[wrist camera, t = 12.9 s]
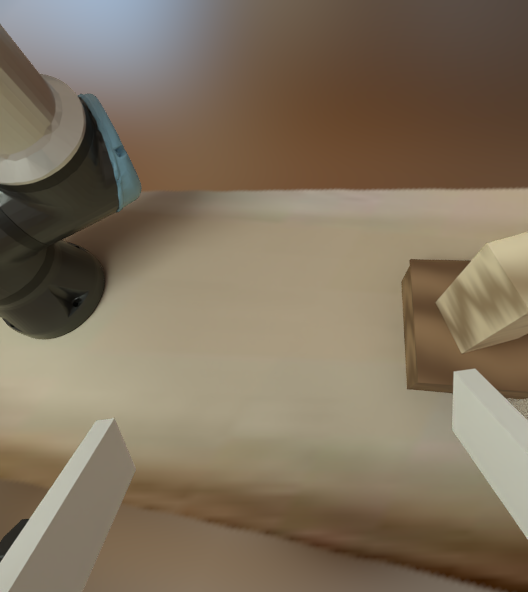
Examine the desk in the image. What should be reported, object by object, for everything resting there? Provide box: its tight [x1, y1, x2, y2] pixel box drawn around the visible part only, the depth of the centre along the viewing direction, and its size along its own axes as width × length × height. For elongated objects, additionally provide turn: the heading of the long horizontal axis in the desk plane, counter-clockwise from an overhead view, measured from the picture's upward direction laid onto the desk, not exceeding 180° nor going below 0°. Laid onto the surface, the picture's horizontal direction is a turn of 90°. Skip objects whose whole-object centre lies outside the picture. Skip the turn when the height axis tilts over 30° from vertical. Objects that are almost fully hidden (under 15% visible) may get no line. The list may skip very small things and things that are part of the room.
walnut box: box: [402, 259, 528, 399], centre depth 39 cm, size 14×12×6 cm
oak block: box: [436, 232, 528, 354], centre depth 31 cm, size 6×6×12 cm
